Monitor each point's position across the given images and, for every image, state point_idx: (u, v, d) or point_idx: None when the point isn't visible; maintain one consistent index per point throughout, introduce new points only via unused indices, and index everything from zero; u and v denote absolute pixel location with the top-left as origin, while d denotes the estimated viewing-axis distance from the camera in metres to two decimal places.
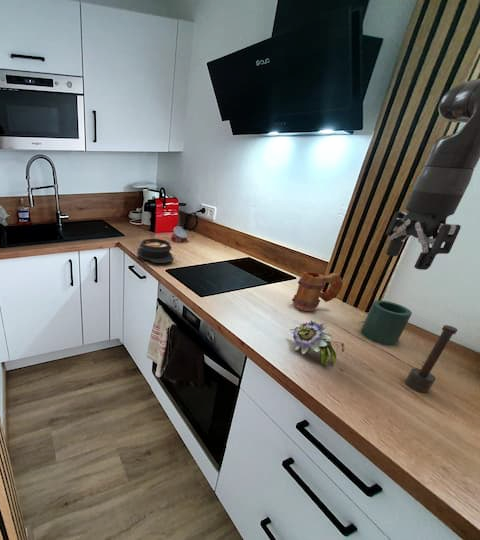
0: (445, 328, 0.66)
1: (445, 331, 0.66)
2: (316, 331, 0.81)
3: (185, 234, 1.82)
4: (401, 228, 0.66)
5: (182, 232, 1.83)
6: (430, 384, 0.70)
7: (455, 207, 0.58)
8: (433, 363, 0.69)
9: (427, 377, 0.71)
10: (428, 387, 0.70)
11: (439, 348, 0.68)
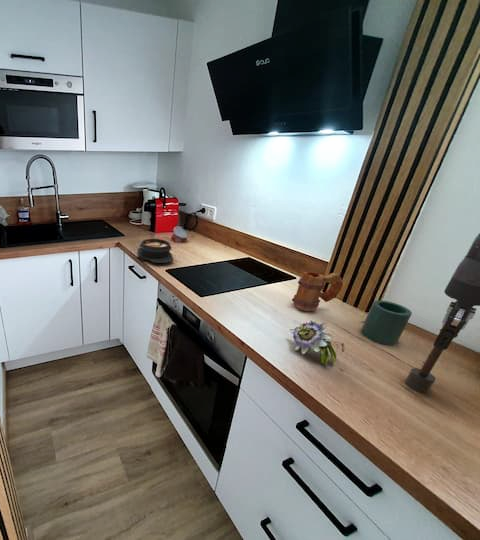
0: None
1: None
2: (316, 331, 0.81)
3: (185, 234, 1.82)
4: (447, 312, 0.67)
5: (182, 232, 1.83)
6: (430, 384, 0.70)
7: None
8: (433, 363, 0.69)
9: (427, 377, 0.71)
10: (428, 387, 0.70)
11: (439, 348, 0.68)
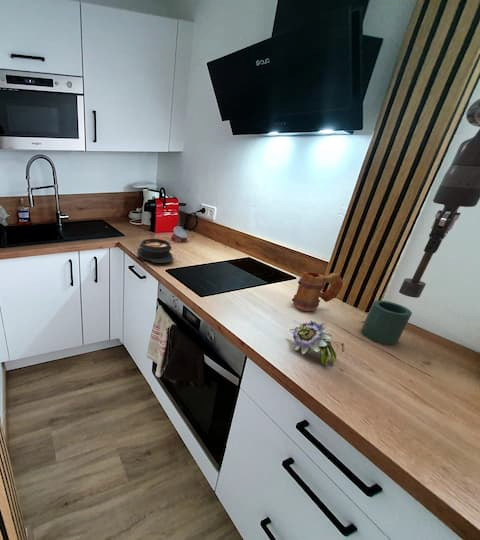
0: None
1: None
2: (316, 331, 0.81)
3: (185, 234, 1.82)
4: None
5: (182, 232, 1.83)
6: (421, 288, 0.79)
7: (466, 199, 0.68)
8: (423, 269, 0.78)
9: (418, 283, 0.79)
10: (419, 292, 0.79)
11: (428, 254, 0.76)
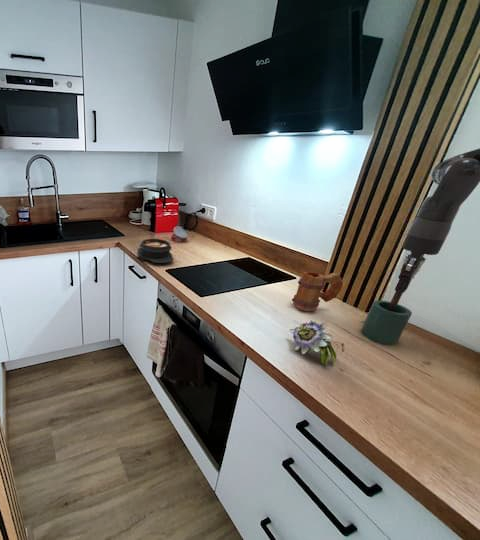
0: None
1: None
2: (316, 331, 0.81)
3: (185, 234, 1.82)
4: None
5: (182, 232, 1.83)
6: None
7: (428, 248, 0.77)
8: (395, 305, 0.87)
9: None
10: None
11: (399, 292, 0.86)
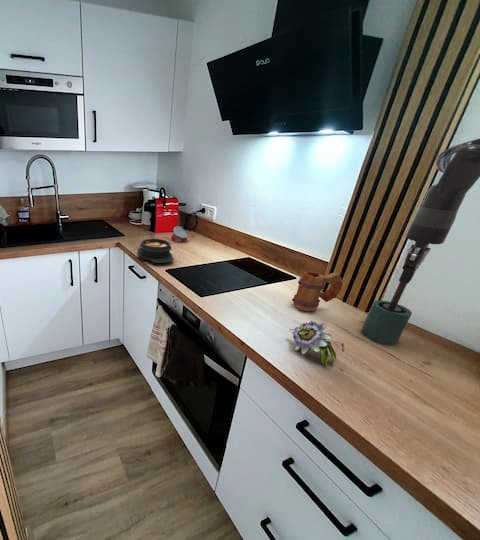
0: None
1: None
2: (316, 331, 0.81)
3: (185, 234, 1.82)
4: None
5: (182, 232, 1.83)
6: None
7: (433, 238, 0.76)
8: (399, 296, 0.86)
9: (394, 309, 0.87)
10: None
11: (403, 283, 0.84)
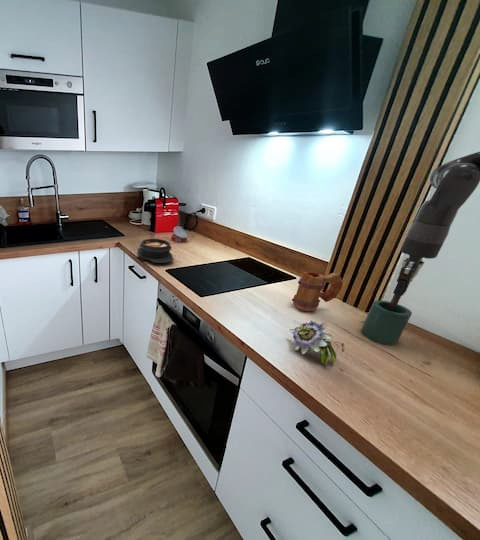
0: None
1: None
2: (316, 331, 0.81)
3: (185, 234, 1.82)
4: None
5: (182, 232, 1.83)
6: None
7: (426, 252, 0.77)
8: (393, 308, 0.88)
9: None
10: None
11: (397, 295, 0.86)
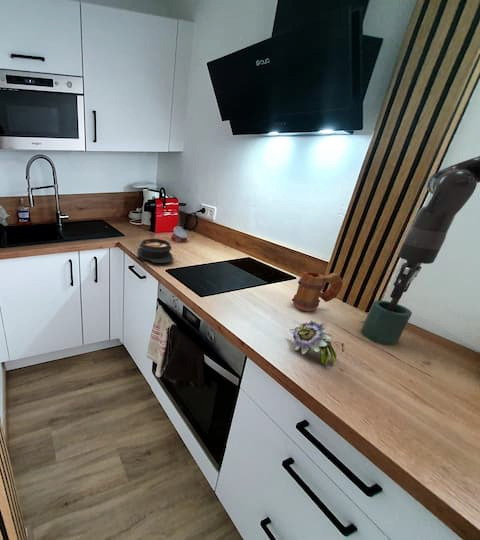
0: None
1: None
2: (316, 331, 0.81)
3: (185, 234, 1.82)
4: None
5: (182, 232, 1.83)
6: None
7: (424, 257, 0.78)
8: None
9: None
10: None
11: (394, 301, 0.87)
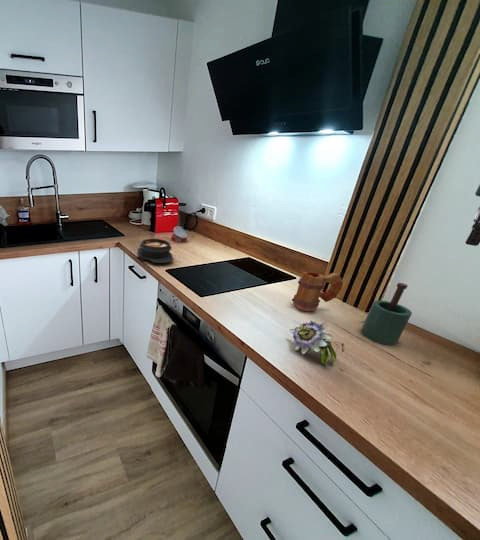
0: (398, 284, 0.85)
1: (398, 287, 0.85)
2: (316, 331, 0.81)
3: (185, 234, 1.82)
4: None
5: (182, 232, 1.83)
6: None
7: None
8: None
9: None
10: None
11: (394, 301, 0.87)
